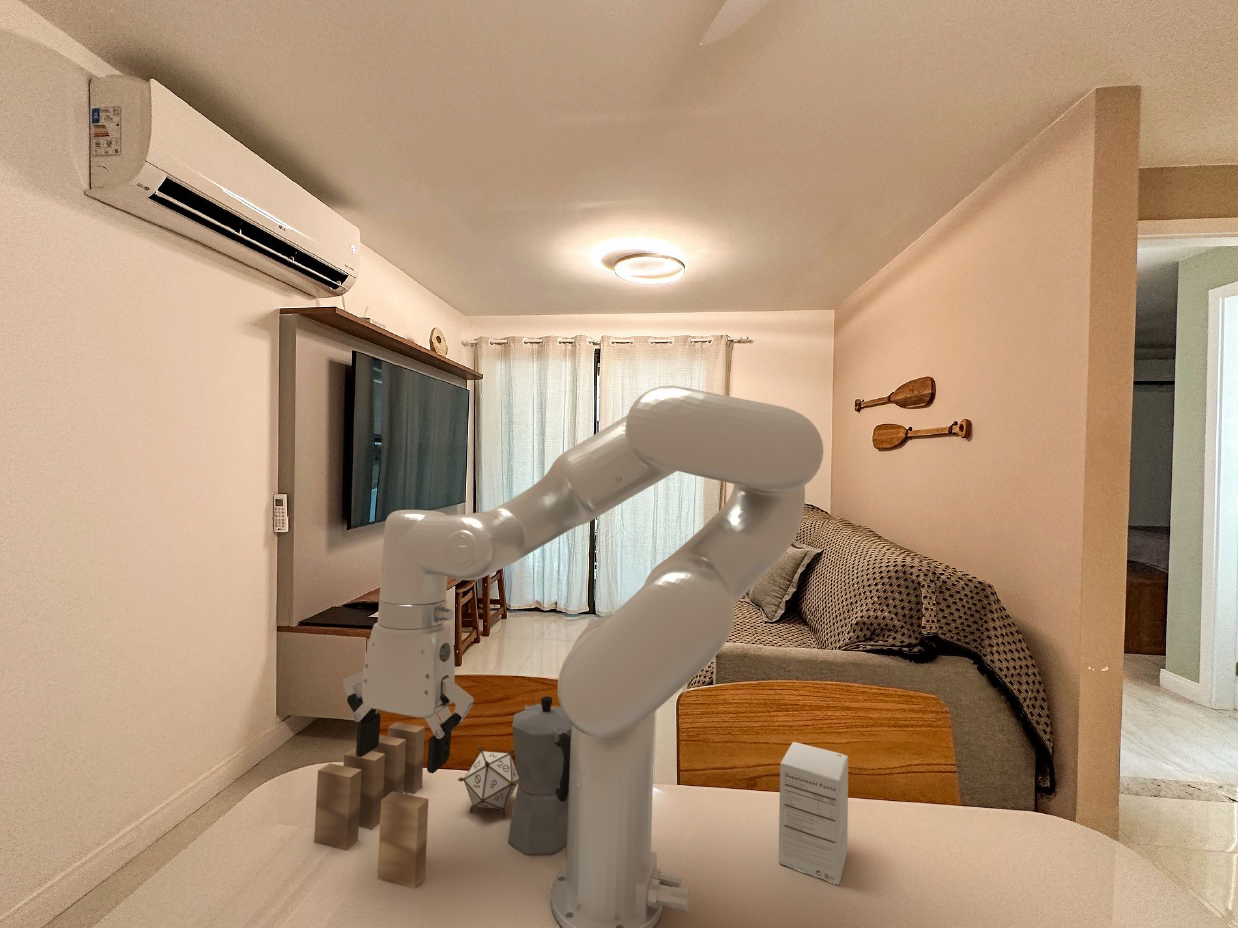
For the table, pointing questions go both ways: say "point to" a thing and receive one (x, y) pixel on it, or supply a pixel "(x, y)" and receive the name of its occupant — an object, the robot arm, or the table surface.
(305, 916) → the table surface
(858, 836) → the table surface
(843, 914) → the table surface
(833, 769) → the supplement box
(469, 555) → the robot arm
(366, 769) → the domino
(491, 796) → the game die
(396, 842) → the domino
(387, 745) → the domino
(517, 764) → the coffeepot
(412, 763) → the domino
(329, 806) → the domino
